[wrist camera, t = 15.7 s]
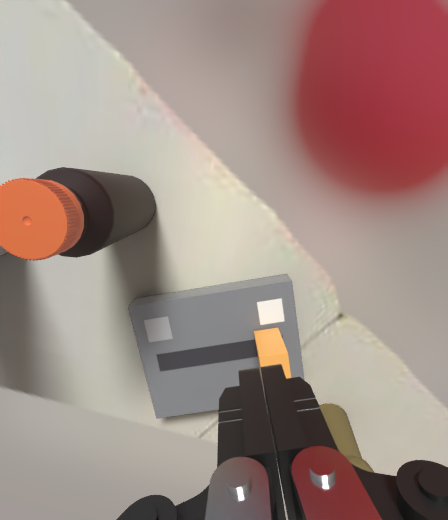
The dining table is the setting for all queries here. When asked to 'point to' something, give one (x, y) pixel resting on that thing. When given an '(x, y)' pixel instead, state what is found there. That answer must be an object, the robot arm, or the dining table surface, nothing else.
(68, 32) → the dining table surface
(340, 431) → the olive pawn
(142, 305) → the panel
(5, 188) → the bottle
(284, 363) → the knob
